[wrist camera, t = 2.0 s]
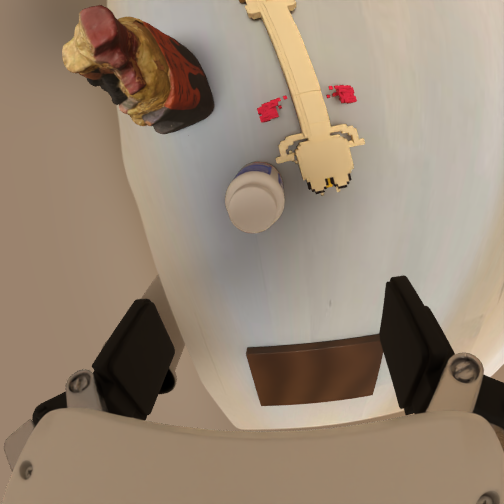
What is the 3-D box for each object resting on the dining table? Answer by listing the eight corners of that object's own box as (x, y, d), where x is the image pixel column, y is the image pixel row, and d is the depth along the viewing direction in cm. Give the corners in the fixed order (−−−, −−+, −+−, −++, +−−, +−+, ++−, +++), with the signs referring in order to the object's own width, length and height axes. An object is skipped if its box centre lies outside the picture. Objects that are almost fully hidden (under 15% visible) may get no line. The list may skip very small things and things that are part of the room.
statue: (137, 68, 25) (5, 48, 7) (197, 39, 23) (95, -34, 6) (167, 155, 30) (43, 210, 12) (229, 131, 28) (147, 151, 10)
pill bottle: (226, 186, 31) (204, 214, 23) (256, 151, 29) (245, 164, 20) (262, 216, 32) (255, 254, 24) (293, 182, 30) (299, 208, 22)
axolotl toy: (223, 9, 22) (286, 201, 30) (203, -26, 14) (285, 223, 22) (304, -10, 20) (370, 182, 28) (308, -49, 12) (399, 197, 20)
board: (261, 400, 49) (261, 406, 48) (247, 347, 42) (246, 354, 41) (371, 389, 46) (372, 395, 44) (383, 333, 39) (385, 339, 38)
